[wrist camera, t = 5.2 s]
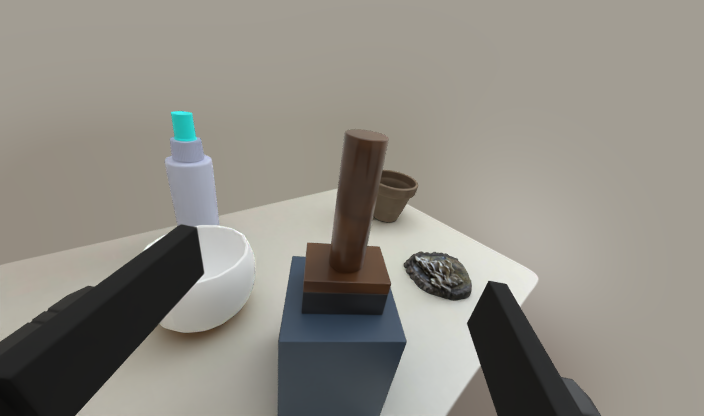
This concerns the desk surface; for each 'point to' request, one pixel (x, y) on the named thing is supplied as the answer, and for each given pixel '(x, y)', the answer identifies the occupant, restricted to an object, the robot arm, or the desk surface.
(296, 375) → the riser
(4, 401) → the robot arm
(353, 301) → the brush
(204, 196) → the spray bottle
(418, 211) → the desk surface
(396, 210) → the flower pot
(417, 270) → the grey rough lump
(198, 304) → the cup
